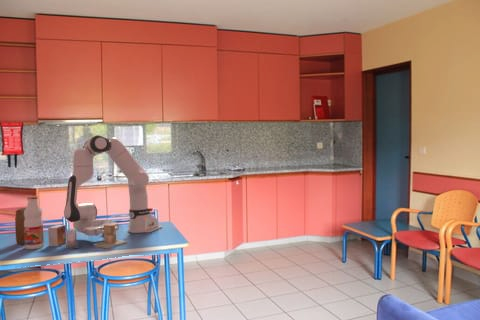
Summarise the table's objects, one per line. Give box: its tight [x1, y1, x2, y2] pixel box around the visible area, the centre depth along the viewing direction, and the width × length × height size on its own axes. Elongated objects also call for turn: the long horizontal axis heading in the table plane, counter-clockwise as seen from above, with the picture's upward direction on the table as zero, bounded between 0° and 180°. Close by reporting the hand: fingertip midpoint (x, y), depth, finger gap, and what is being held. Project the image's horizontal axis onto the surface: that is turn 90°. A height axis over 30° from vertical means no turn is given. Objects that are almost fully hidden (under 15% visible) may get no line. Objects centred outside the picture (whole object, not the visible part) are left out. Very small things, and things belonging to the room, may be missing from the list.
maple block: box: [103, 224, 117, 244], centre depth 233 cm, size 4×4×10 cm
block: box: [14, 207, 26, 246], centre depth 238 cm, size 11×8×20 cm
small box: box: [47, 224, 67, 247], centre depth 233 cm, size 8×6×10 cm
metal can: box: [66, 230, 78, 250], centre depth 226 cm, size 5×5×9 cm
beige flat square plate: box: [92, 238, 128, 250], centre depth 233 cm, size 14×12×1 cm
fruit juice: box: [24, 195, 45, 250], centre depth 228 cm, size 9×9×28 cm
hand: (110, 230), depth 232 cm, fingers open, 8 cm apart
